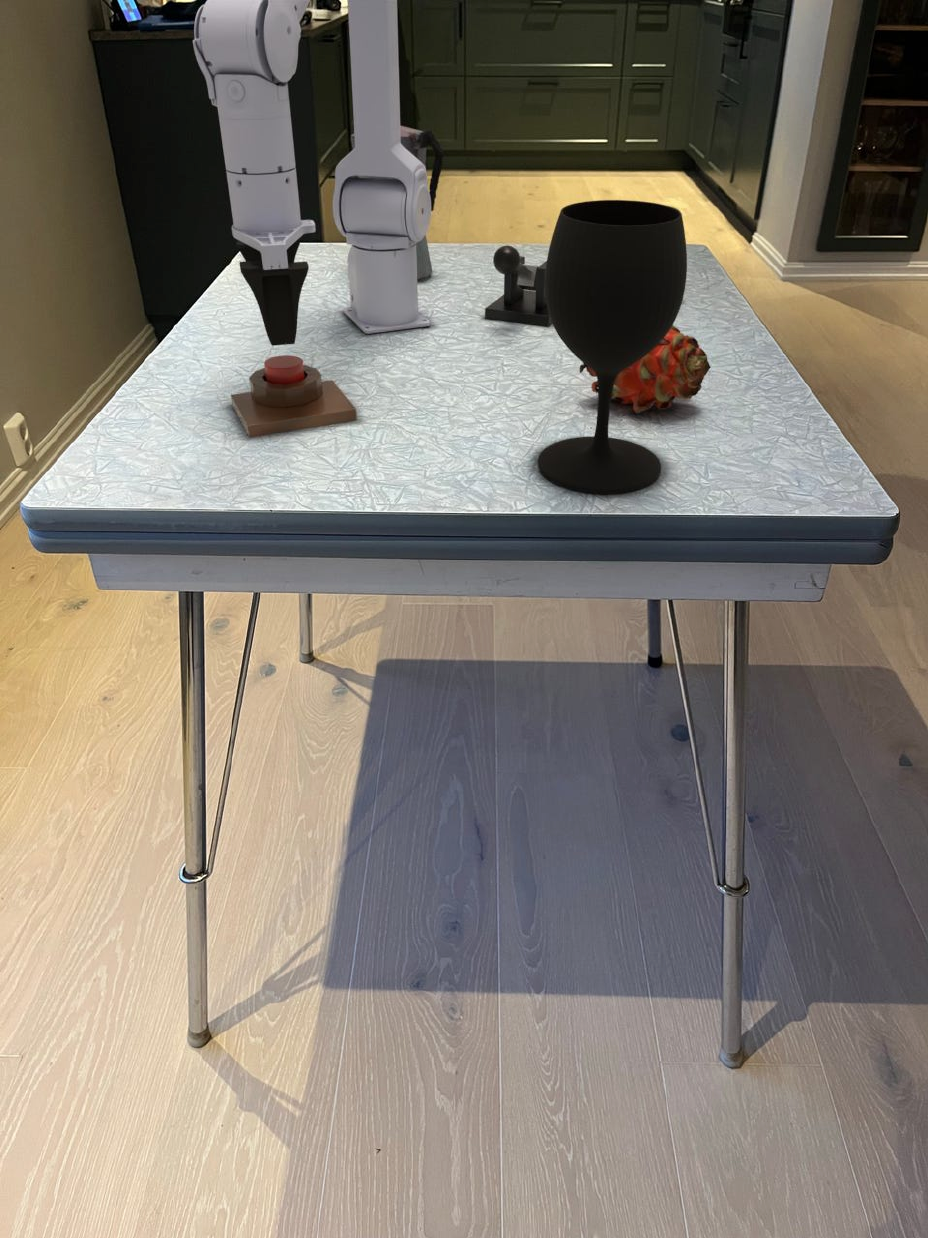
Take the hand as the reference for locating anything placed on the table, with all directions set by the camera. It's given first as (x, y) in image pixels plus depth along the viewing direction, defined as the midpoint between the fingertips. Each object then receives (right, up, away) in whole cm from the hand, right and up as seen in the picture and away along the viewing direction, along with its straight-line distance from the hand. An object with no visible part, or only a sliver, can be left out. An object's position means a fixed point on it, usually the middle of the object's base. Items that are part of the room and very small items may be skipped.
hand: (280, 331), depth 86 cm
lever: (+23, +12, +22) cm, 34 cm away
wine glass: (+28, -14, -7) cm, 32 cm away
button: (0, -4, +3) cm, 5 cm away
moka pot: (+8, +20, +42) cm, 47 cm away
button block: (+1, -7, +3) cm, 7 cm away
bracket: (+25, +11, +28) cm, 39 cm away
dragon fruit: (+34, -6, +4) cm, 34 cm away
